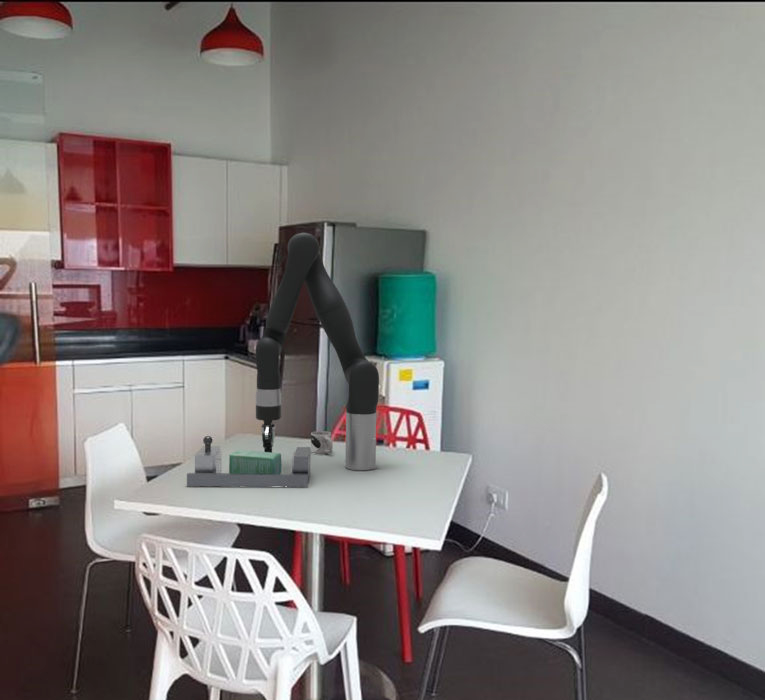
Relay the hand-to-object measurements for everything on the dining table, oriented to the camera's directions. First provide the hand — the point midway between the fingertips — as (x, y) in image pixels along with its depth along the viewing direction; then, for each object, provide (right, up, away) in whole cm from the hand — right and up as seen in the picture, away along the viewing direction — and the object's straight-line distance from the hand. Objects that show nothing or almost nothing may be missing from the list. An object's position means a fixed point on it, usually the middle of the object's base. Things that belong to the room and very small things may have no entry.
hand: (268, 459), depth 220 cm
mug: (+15, -2, +23) cm, 27 cm away
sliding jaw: (-16, -4, -11) cm, 19 cm away
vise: (-3, -4, -12) cm, 13 cm away
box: (-2, -4, -10) cm, 11 cm away
